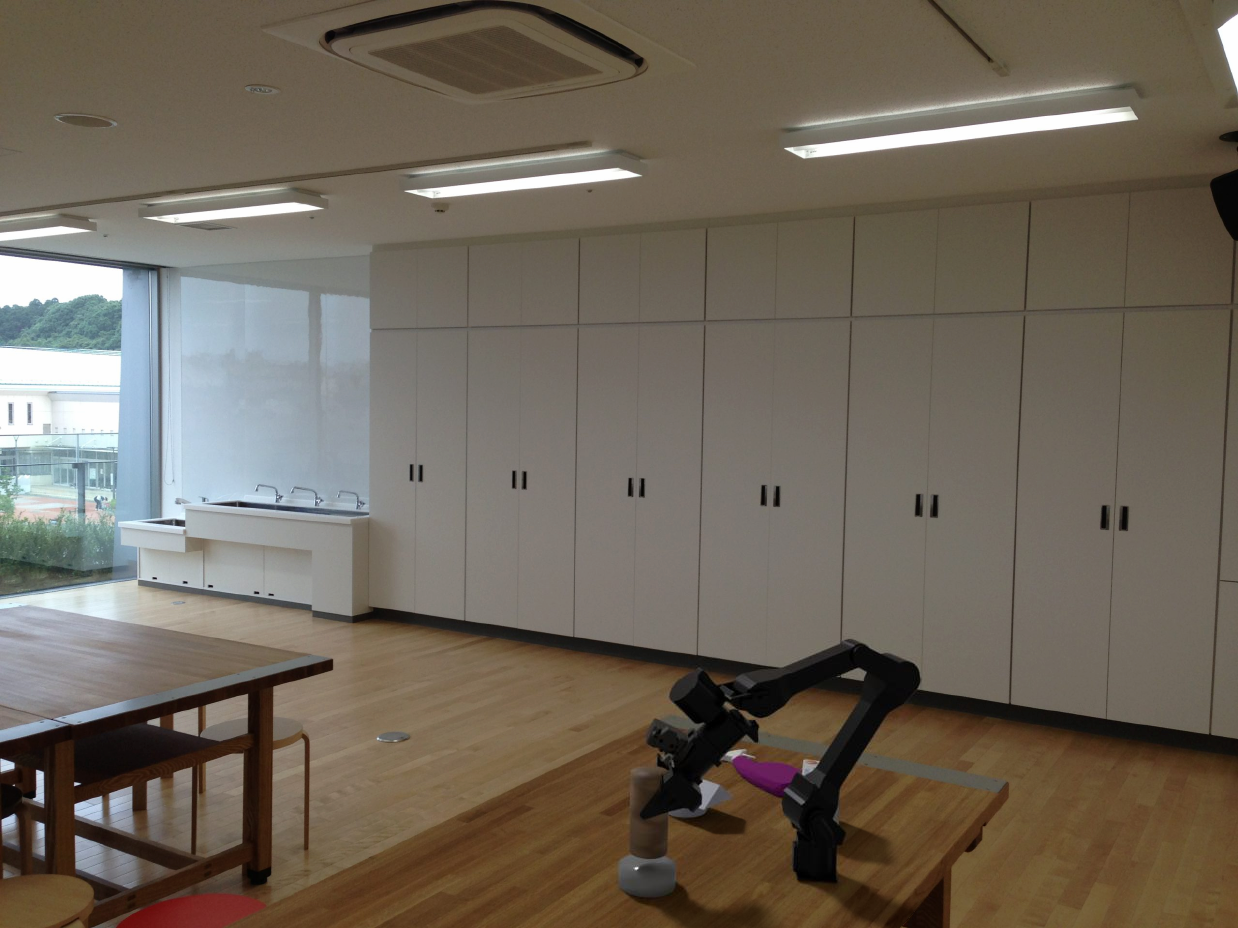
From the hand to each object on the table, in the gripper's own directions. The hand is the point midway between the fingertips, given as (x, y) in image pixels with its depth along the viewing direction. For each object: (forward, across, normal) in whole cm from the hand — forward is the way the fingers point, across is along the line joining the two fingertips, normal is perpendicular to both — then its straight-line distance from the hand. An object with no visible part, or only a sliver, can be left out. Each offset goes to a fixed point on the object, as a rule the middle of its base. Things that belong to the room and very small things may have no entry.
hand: (640, 809), depth 161 cm
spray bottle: (-10, -51, +28) cm, 59 cm away
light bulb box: (-15, -23, +32) cm, 43 cm away
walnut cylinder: (+4, 0, +6) cm, 7 cm away
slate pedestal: (+8, 0, +9) cm, 12 cm away
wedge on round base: (+1, -30, +16) cm, 34 cm away
